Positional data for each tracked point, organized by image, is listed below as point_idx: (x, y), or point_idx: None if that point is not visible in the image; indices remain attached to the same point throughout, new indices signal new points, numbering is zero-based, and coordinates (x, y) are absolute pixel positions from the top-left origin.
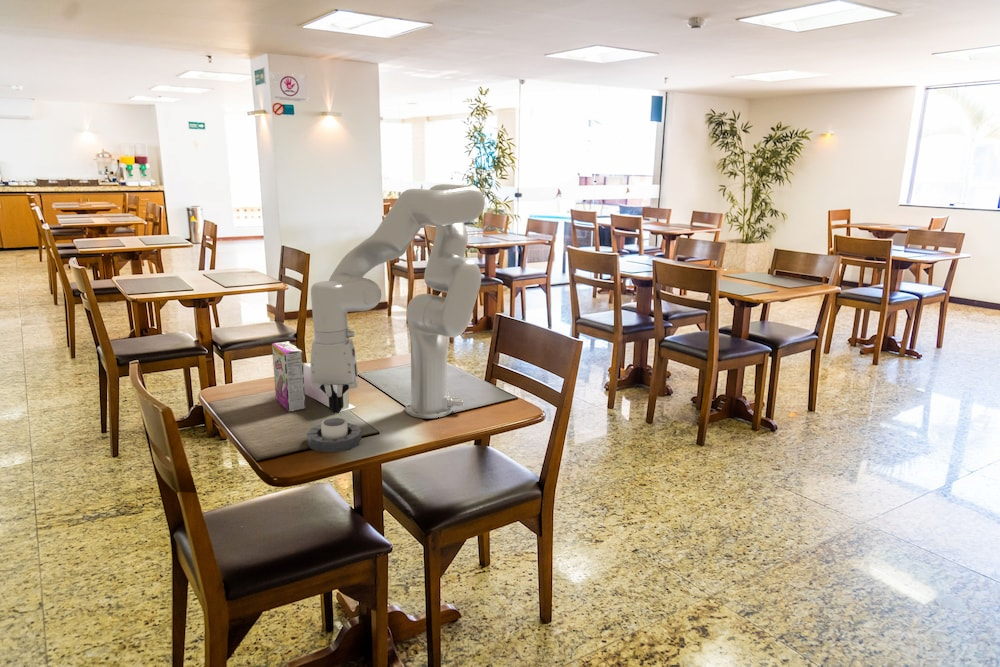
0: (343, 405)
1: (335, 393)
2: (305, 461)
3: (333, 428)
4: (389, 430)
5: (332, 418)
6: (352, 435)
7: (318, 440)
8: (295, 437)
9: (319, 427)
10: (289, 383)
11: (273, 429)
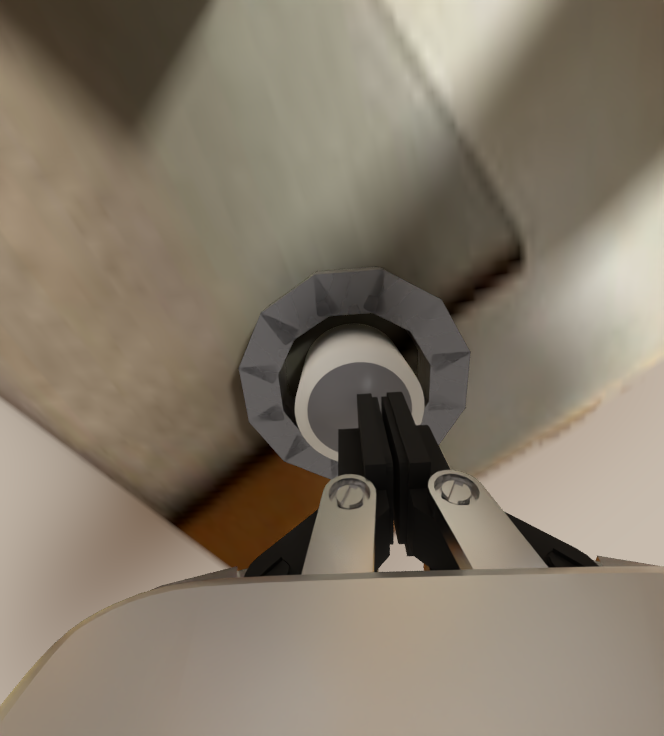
0: (427, 426)
1: (384, 481)
2: (308, 511)
3: None
4: (571, 215)
5: (336, 371)
6: (441, 414)
7: (319, 470)
8: (184, 350)
9: (271, 350)
10: None
11: (42, 280)
